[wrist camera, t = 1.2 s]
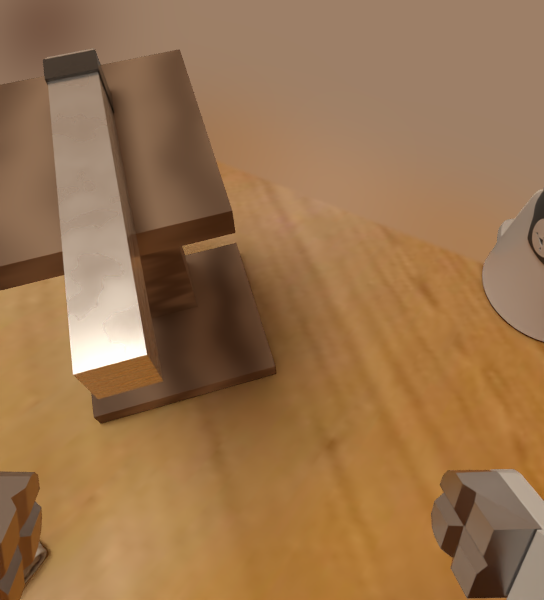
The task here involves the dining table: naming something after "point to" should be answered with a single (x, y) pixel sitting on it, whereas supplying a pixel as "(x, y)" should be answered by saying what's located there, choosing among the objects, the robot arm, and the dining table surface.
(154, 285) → the mount stand
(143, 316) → the grey square bar
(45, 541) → the dining table surface
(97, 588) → the dining table surface
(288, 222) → the dining table surface
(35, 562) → the washcloth
